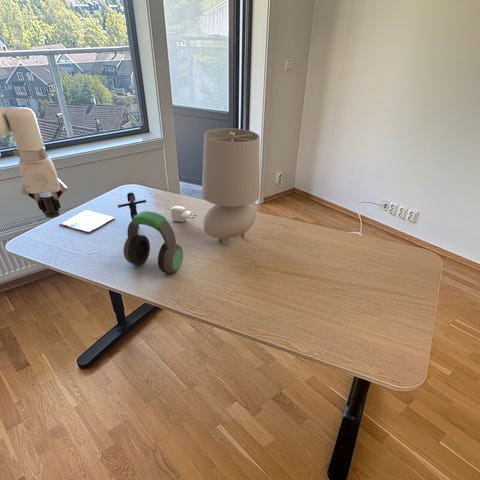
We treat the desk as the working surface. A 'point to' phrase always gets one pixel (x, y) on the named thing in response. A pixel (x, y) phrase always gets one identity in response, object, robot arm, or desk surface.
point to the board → (87, 221)
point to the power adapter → (180, 214)
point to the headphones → (140, 246)
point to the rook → (49, 205)
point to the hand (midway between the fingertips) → (51, 210)
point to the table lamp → (230, 181)
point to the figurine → (132, 204)
